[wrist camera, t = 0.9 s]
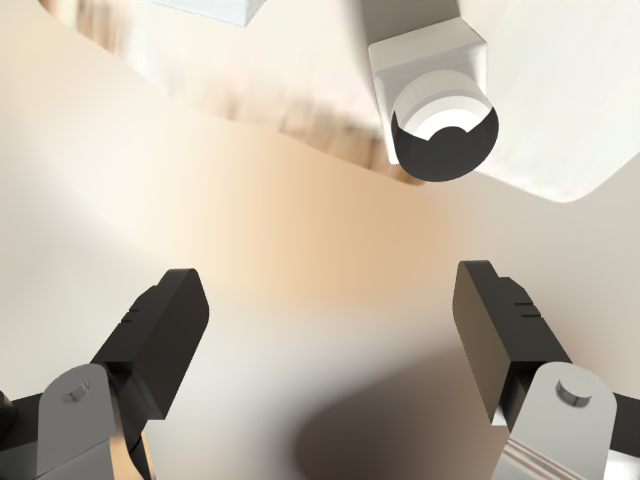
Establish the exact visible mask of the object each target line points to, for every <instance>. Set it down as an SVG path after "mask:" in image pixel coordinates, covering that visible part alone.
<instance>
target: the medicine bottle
mask: <svg viewBox="0 0 640 480" xmlns="http://www.w3.org/2000/svg"><path fill="white" fill-rule="evenodd" d="M368 52H369V58H370V65H371V71H372V78H373V83H374V88H375V93H376V98H377V104H378V109H379V114H380V119H381V124H382V129H383V134H384V139H385V145H386V150H387V155H388V160H389V162H390V163H391V164H397V163H400V165H401V166H402V168H403V169H404V170H405V171H406V172H407V173H409V174H410V175H412V176H413V177H415V178H418V179H420V180H424V181H429V182H443V181H449V180H453V179H456V178H459V177H461V176H463V175H465V174H467V173H469V172H471V171H472V170H474V169H475V168H476V167H478V166H479V165H480V164H481V163H482V162H483V161H484V160H485V159H486V157H487V156H488V155H489V153H490V152H491V150H492V149H493V147H494V145H495V142H496V139H497V136H498V130H499V123H498V117H497V114H496V111H495V109H494V107H493V106H492V104H491V103H490V102H489V100H488V99H487V42H486V41H485V40H484V39H483V38H482V37H481V36H479V35H478V34H477V33H476V32H475V31H474V30H473V29H472V28H471V27H470V26H469V25H468V24H467V23H466V22H465V21H464V20H463V19H462V18H460V17H456V18H453V19H449V20H446V21H443V22H440V23H437V24H433V25H430V26H427V27H424V28H420V29H417V30H414V31H411V32H408V33H404V34H401V35H398V36H395V37H391V38H388V39H385V40H382V41H379V42H375V43H372V44H370V45H369V47H368Z"/></svg>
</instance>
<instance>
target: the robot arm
mask: <svg viewBox="0 0 640 480" xmlns="http://www.w3.org/2000/svg"><path fill="white" fill-rule="evenodd" d="M453 316H454V320H455V324H456V326H457V329H458V332H459V335H460V337H461V340H462V343H463V346H464V349H465V352H466V354H467V357H468V360H469V363H470V366H471V369H472V371H473V374H474V377H475V380H476V383H477V386H478V388H479V391H480V394H481V397H482V400H483V402H484V405H485V408H486V411H487V414H488V417H489V419H490V422H491V425H507V426H508V429H509V431H510V434H511V435H510V437H509V439H508V442H507V443H506V445H505V447H504V449H503V452H502V454H501V456H500V459H499V461H498V464H497V466H496V469H495V471H494V474H493V476H492V478H491V480H640V400H638V399H634V398H630V397H626V396H623V395H620V394H616V393H614V392H612V391H611V390H610V388H609V387H608V386H607V385H606V384H605V383H604V382H603V381H602V380H601V379H600V378H598V377H597V376H596V375H595V374H593V373H591V372H590V371H588V370H586V369H584V368H582V367H579V366H577V365H574V364H573V363H572V361H571V360H570V358H569V357H568V355H567V354H566V352H565V351H564V350H563V348H562V346H561V345H560V343H559V341H558V340H557V338H556V337H555V335H554V334H553V332H552V331H551V329H550V328H549V326H548V325H547V323H546V322H545V320H544V318H541V314H540V312H539V311H538V309H537V308H536V307H535V306H534V305H533V302H532V300H531V298H530V297H529V295H528V294H527V292H526V291H525V289H524V288H522V287H521V286H520V285H518V284H517V283H516V282H515V281H513V280H512V279H511V278H509V277H498V275H497V273H496V272H495V270H494V268H493V266H492V265H491V263H490V262H489V261H488V260H479V261H460V262H459V265H458V270H457V276H456V283H455V290H454V296H453ZM208 320H209V305H208V302H207V299H206V296H205V293H204V290H203V287H202V284H201V281H200V278H199V275H198V272H197V271H196V270H195V269H193V268H191V269H170V270H168V271H167V272H166V273H165V275H164V276H163V278H162V279H161V280H160V282H159V283H158V285H157V286H152V287H150V288H149V289H148V290H147V291H145V292H144V293H143V294H141V295H140V296H139V297H138V298H137V299H136V301H135V302H134V304H133V305H132V306H131V308H130V309H129V312H127V313H126V315H125V316H124V317H123V319H122V320H121V323H119V324H118V325H117V327H116V328H115V329H114V331H113V332H112V333H111V335H110V336H109V337H108V339H107V340H106V342H105V343H104V344H103V346H102V347H101V348H100V350H99V351H98V353H97V354H96V355H95V356H94V358H93V359H92V361H91V362H90V363H89V364H84V365H81V366H77V367H75V368H72V369H70V370H69V371H67V372H65V373H63V374H62V375H60V376H59V377H58V378H56V379H55V380H54V381H53V382H52V383H51V384H50V385H49V386H48V387H47V388H46V390H45V391H44V392H43V393H40V394H36V395H32V396H28V397H25V398H21V399H17V400H14V401H10V400H9V399H8V398H7V397H6V396H5V395H4V394H3V392H1V391H0V480H156V477H155V473H154V468H153V465H152V460H151V456H150V452H149V448H148V444H147V440H146V436H145V433H144V432H143V429H144V427H145V425H146V423H147V421H148V420H165V418H166V416H167V414H168V411H169V409H170V407H171V405H172V402H173V400H174V398H175V396H176V393H177V391H178V389H179V387H180V384H181V382H182V380H183V378H184V376H185V373H186V371H187V369H188V367H189V364H190V362H191V360H192V357H193V355H194V353H195V351H196V349H197V347H198V344H199V342H200V340H201V338H202V335H203V333H204V331H205V329H206V326H207V324H208Z"/></svg>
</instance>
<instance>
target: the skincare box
mask: <svg viewBox="0 0 640 480" xmlns="http://www.w3.org/2000/svg"><path fill="white" fill-rule="evenodd" d="M143 1H146V2H150V3H153V4H156V5H160V6H164V7H167V8H171V9H175V10H179V11H183V12H187V13H191V14H195V15H199V16H202V17H206V18H210V19H213V20H217V21H221V22H225V23H228V24H232V25H236V26H239V27H242V28H245V27H246V26H247V25H248V23H249V22H250V21H251V19H252V18H253V17H254V15H255V14H256V13H257V12H258V10H259V9H260V8H261V6H262V5H263V4H264V2H265V1H266V0H143Z"/></svg>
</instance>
